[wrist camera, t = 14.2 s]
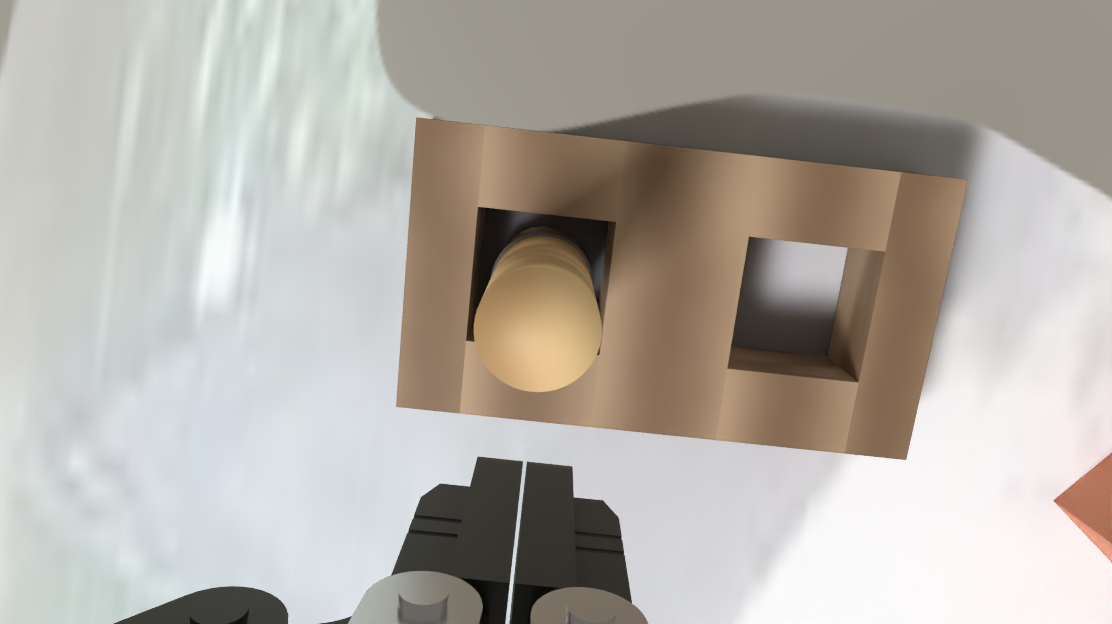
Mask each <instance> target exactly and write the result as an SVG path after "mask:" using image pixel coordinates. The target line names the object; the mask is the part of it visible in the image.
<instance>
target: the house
mask: <svg viewBox="0 0 1112 624" xmlns="http://www.w3.org/2000/svg"><path fill="white" fill-rule="evenodd" d="M1054 502H1055V503H1056V504H1057V505H1058V506H1059V507H1060V508H1061V509H1062V510H1063V511H1064V512H1065V513H1066V514H1067V516H1068V517H1069V518H1070V519H1071V520H1072V521H1073V522H1074V523H1075V524H1076V525H1077V526H1078V527H1079V528H1080V529H1081V530H1082V531H1083V532H1084V534H1085V535H1086V536H1087V537H1088V538H1089V539H1090V540H1091V541H1092V542H1093V543H1094V544H1095V545H1096V546H1097V547H1098V548H1099V549H1100V550H1101V551H1102V553H1103V554H1104V555H1105V556H1106V557H1107V558H1108V559H1109V560H1110V561H1111V562H1112V453H1111V454H1110V455H1109V456H1107V457H1106V458H1105V459H1104V460H1103V461H1101V462H1100V463H1099V464H1098V465H1096V466H1095V467H1094V468H1093V469H1092V470H1090V471H1089V472H1088V473H1087V474H1085V475H1084V476H1083V477H1082V478H1081V479H1079V480H1078V481H1077V482H1076V483H1075V484H1073V485H1072V486H1071V487H1070V488H1068V489H1067V490H1066V491H1065V492H1064V493H1062V494H1061V495H1060V496H1059V497H1057V498H1056V499H1055V500H1054Z"/></svg>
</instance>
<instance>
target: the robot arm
mask: <svg viewBox="0 0 1112 624" xmlns="http://www.w3.org/2000/svg"><path fill="white" fill-rule="evenodd" d="M522 466H523V461H514V460H505V459H495V458H486V457H478V458H477V461H476V465H475V469H474V473H473V477H472V481H471V485H470V487H468V486H458V485H449V484H439V485H438V486H436V487H435V488H433V489H432V490H431V491H429V492H428V493H426V494H425V495H423V496H422V497H421V499H420V501H419V504H418V506H417V509H416V512H415V514H414V518H413V520H412V522H411V525H410V528H409V532H408V533H407V535H406V538H405V541H404V543H403V546H402V549H401V551H400V554H399V556H398V559H397V562H396V564H395V567H394V570H393V572H392V575H391V576H389V577H387V578H384V579H382V580H380V581H379V582H377V583H375V584H374V585H373V586H372V587H370V588H369V589H368V590H367V592H366V593H365V595H364V596H363V598H362V600H361V602H360V603H359V605H358V607H357V609H356V610H355V612H354V614H353V616H351V617H348V618H345V619H342V620H338V621H334V622H328V623H321V624H505V620H506V611H507V602H508V593H509V584H510V575H511V566H512V556H513V547H514V538H515V529H516V520H517V511H518V502H519V493H520V484H521V475H522ZM114 624H288V613H287V609H286V607H285V606H284V604H283V603H282V602H281V601H280V600H279V599H278V598H277V597H275V596H273V595H272V594H270V593H267V592H265V591H262V590H258V589H254V588H248V587H233V586H231V587H218V588H211V589H206V590H202V591H198V592H195V593H192V594H189V595H186V596H183V597H181V598H178V599H175V600H173V601H170V602H168V603H165V604H163V605H160V606H158V607H155V608H152V609H150V610H147V611H145V612H142V613H140V614H137V615H135V616H132V617H129V618H127V619H124V620H122V621H119V622H117V623H114ZM509 624H648V622H647V620H646V618H645V616H644V615H643V614H642V612H641V611H640V610H639V609H638V608H637V607H636V606H635V605H633V604H632V600H631V594H630V588H629V581H628V575H627V568H626V562H625V555H624V549H623V543H622V540H621V530H620V523H619V518H618V517H617V515H616V514H615V513H614V512H613V511H612V510H611V509H610V508H609V507H608V506H607V505H606V503H605V502H604V501H602V500H593V499H583V498H574V496H573V471H572V466H563V465H553V464H544V463H534V462H527V467H526V476H525V484H524V493H523V502H522V511H521V520H520V529H519V538H518V547H517V556H516V566H515V575H514V584H513V594H512V604H511V613H510V623H509Z"/></svg>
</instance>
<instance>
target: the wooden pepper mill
mask: <svg viewBox="0 0 1112 624" xmlns="http://www.w3.org/2000/svg"><path fill="white" fill-rule="evenodd" d="M593 285H594V283H593V274H592V270H591V267H590V264H589V261H588V259H587V257H586V256H585V254H584V252H583V250H582V248H581V246H580V245H579V244H578V242H577V241H576V240H575V239H574V238H573V237H571V236H570V235H569V234H567V233H566V232H564V231H562V230H560V229H556V228H553V227H545V226H541V227H533V228H529V229H527V230H524V231H522V232H520V233H519V234H517V235H516V236H515V237H513V238H512V239H511V240H510V241H509V243H508V244H507V245H506V247H505V248H504V249H503V250H502V252H501V253H500V254H499V256H498V258H497V260H496V262H495V264H494V266H493V270H492V273H491V279H490V281H489V284H488V286H487V288H486V290H485V293H484V295H483V297H482V299H481V302H480V304H479V306H478V308H477V312H476V315H475V320H474V340H475V344H476V348H477V351H478V353H479V356H480V357H481V359H482V361H483V363H484V364H485V366H486V367H487V368H488V370H489V371H490V372H491V373H492V374H493V375H494V376H496V377H497V378H498V379H499V380H501V381H502V382H504V383H506V384H507V385H509V386H512V387H514V388H517V389H520V390H523V391H529V392H547V391H552V390H556V389H559V388H562V387H565V386H567V385H569V384H571V383H572V382H574V381H575V380H577V379H578V378H579V377H580V376H582V375H583V374H584V373H585V372H586V370H587V369H588V368H589V367H590V365H591V364H592V363H593V361H594V359H595V357H596V355H597V353H598V350H599V347H600V343H601V337H602V324H601V318H600V313H599V309H598V305H597V301H596V297H595V292H594V288H593Z"/></svg>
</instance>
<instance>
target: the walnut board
mask: <svg viewBox="0 0 1112 624" xmlns="http://www.w3.org/2000/svg"><path fill="white" fill-rule="evenodd" d="M967 182H968V180H966V179H957V178H948V177H940V176H931V175H922V174H913V173H904V172H895V171H887V170H878V169H869V168H860V167H851V166H842V165H833V164H825V163H816V162H807V161H798V160H789V159H780V158H771V157H763V156H754V155H745V154H736V153H727V152H718V151H709V150H701V149H692V148H683V147H674V146H665V145H656V144H647V143H639V142H630V141H621V140H612V139H603V138H594V137H585V136H577V135H568V134H559V133H550V132H541V131H532V130H523V129H514V128H505V127H497V126H488V125H479V124H470V123H461V122H453V121H444V120H435V119H426V118H417V117H416V130H415V144H414V158H413V173H412V187H411V201H410V216H409V230H408V244H407V259H406V273H405V288H404V302H403V316H402V331H401V345H400V359H399V374H398V388H397V402H396V407H403V408H412V409H422V410H432V411H441V412H451V413H461V414H470V415H480V416H489V417H499V418H509V419H518V420H528V421H537V422H547V423H557V424H566V425H576V426H586V427H595V428H605V429H614V430H624V431H634V432H643V433H653V434H662V435H672V436H682V437H691V438H701V439H711V440H720V441H730V442H739V443H749V444H759V445H768V446H778V447H787V448H797V449H807V450H816V451H826V452H835V453H845V454H855V455H864V456H874V457H884V458H893V459H903V460H906V458H907V454H908V449H909V445H910V440H911V435H912V431H913V426H914V422H915V417H916V413H917V408H918V404H919V399H920V395H921V390H922V386H923V381H924V377H925V372H926V368H927V363H928V359H929V354H930V350H931V345H932V340H933V336H934V331H935V327H936V322H937V318H938V313H939V309H940V304H941V300H942V295H943V291H944V286H945V282H946V277H947V273H948V268H949V264H950V259H951V255H952V250H953V245H954V241H955V236H956V232H957V227H958V223H959V218H960V214H961V209H962V205H963V200H964V196H965V191H966V187H967ZM485 208H495V209H504V210H513V211H522V212H531V213H540V214H549V215H558V216H567V217H576V218H585V219H594V220H603V221H609V223H608V231H607V239H606V247H605V255H604V263H603V271H602V279H601V287H600V295H599V304H598V309H599V313H600V318H601V324H602V337H601V343H600V347H599V350H598V353H597V355H596V357H595V359H594V361H593V363H592V364H591V365H590V367H589V368H588V369H587V370H586V372H585V373H584V374H583V375H582V376H580V377H579V378H578V379H577V380H575V381H574V382H572V383H571V384H569V385H567V386H565V387H562V388H559V389H556V390H552V391H547V392H529V391H523V390H520V389H517V388H514V387H512V386H509V385H507V384H506V383H504V382H502V381H501V380H499V379H498V378H497V377H496V376H494V375H493V374H492V373H491V372H490V371H489V370H488V368H487V367H486V366H485V364H484V363H483V361H482V359H481V357H480V356H479V353H478V351H477V348H476V344H475V340H474V320H475V315H476V308H477V297H478V286H479V275H480V264H481V253H482V242H483V230H484V219H485ZM749 237H757V238H766V239H775V240H784V241H793V242H803V243H812V244H821V245H830V246H839V247H848V251H847V256H846V261H845V266H844V271H843V277H842V282H841V287H840V292H839V297H838V303H837V308H836V313H835V318H834V323H833V329H832V334H831V339H830V344H829V350H828V355H827V357H825V356H816V355H807V354H797V353H788V352H779V351H769V350H760V349H751V348H741V347H732V346H731V343H732V337H733V331H734V325H735V319H736V313H737V306H738V300H739V294H740V288H741V282H742V276H743V270H744V264H745V258H746V252H747V245H748V239H749Z"/></svg>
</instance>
